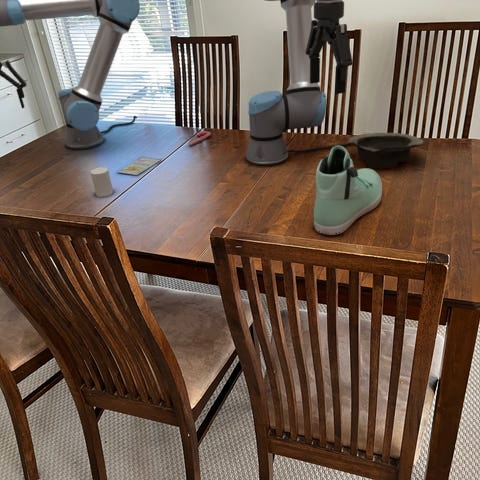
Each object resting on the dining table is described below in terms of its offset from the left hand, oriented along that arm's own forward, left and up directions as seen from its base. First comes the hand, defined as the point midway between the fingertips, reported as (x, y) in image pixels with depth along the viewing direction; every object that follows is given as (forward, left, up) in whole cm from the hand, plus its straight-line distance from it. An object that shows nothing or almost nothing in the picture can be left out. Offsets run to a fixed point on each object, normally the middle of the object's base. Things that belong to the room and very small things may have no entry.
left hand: (3, 110), depth 174 cm
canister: (-13, +47, -22) cm, 54 cm away
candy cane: (-64, +28, -22) cm, 73 cm away
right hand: (-62, +100, +10) cm, 118 cm away
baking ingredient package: (-33, +35, -22) cm, 53 cm away
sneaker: (-61, +111, -22) cm, 128 cm away
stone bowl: (-97, +95, -22) cm, 137 cm away
